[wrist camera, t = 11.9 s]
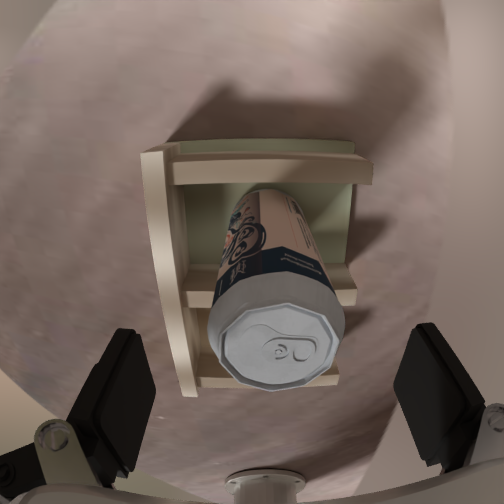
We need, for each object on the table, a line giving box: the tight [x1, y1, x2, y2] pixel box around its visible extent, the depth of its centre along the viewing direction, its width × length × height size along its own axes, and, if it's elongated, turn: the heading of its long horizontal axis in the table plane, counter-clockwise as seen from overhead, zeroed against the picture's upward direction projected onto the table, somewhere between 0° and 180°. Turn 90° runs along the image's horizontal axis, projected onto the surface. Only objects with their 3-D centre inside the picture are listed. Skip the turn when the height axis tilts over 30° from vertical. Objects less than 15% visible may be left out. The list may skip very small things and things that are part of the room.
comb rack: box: [140, 138, 374, 397], centre depth 21 cm, size 18×12×5 cm, turn 1°
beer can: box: [207, 189, 345, 392], centre depth 15 cm, size 5×5×12 cm
